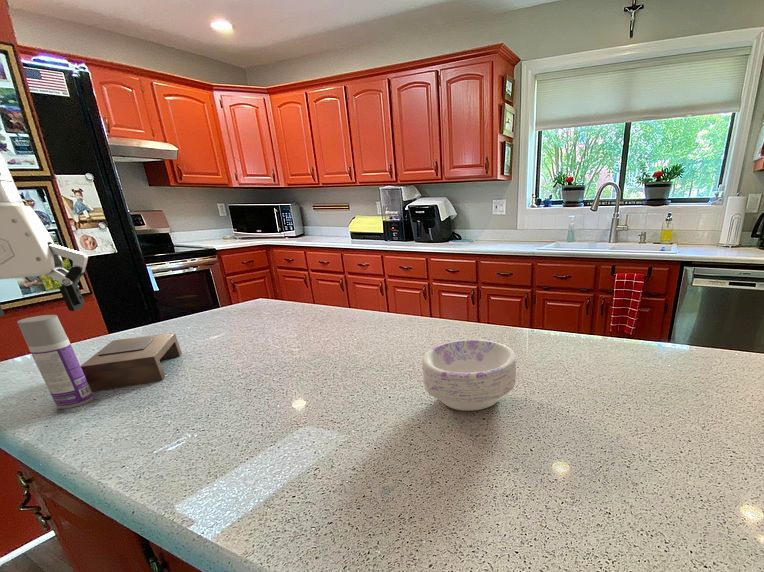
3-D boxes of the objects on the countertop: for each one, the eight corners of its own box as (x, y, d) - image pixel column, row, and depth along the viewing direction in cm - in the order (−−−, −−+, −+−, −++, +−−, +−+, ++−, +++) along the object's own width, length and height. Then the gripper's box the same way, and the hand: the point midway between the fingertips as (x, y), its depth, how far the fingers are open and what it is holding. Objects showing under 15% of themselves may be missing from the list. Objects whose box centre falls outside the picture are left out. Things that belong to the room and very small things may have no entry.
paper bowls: (450, 431, 57) (447, 382, 54) (411, 391, 69) (407, 349, 66) (534, 404, 64) (535, 359, 61) (485, 372, 76) (484, 333, 73)
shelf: (89, 392, 72) (78, 365, 70) (121, 362, 86) (112, 339, 84) (162, 380, 76) (153, 355, 74) (182, 353, 90) (174, 331, 88)
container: (84, 394, 71) (48, 313, 66) (100, 398, 70) (64, 315, 64) (51, 406, 67) (9, 321, 61) (66, 410, 66) (25, 324, 60)
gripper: (-133, 198, 50) (-58, 328, 56) (47, 193, 56) (96, 311, 62) (-85, 199, 56) (-22, 315, 62) (72, 194, 62) (114, 301, 69)
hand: (37, 313), depth 62 cm, fingers open, 9 cm apart
